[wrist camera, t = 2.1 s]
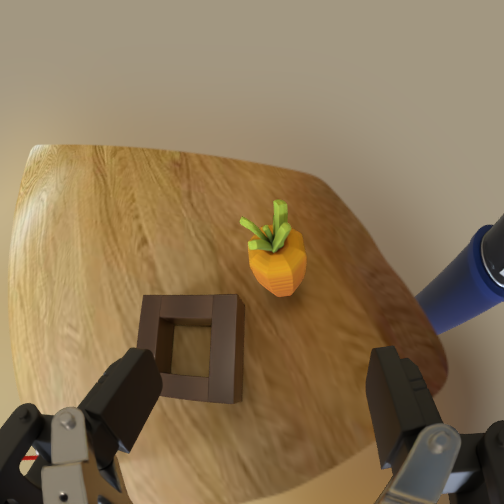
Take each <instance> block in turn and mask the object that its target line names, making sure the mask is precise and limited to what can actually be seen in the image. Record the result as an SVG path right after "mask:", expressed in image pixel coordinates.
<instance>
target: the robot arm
mask: <svg viewBox="0 0 504 504" xmlns="http://www.w3.org/2000/svg"><path fill="white" fill-rule="evenodd" d="M480 258H481V262H482V265H483V268H484V270H485V272H486V274H487V276H488V277H489V278H490V280H491V281H492V282H493V283H494V284H495V285H496V286H498V287H500V288H502V289H504V214H503V215H502V216H501V217H500V219H499V220H498V221H497V222H496V223H495V224H494V226H493V227H492V228H491V229H490V230H489V231H488V232H487V233H486V234H485V235H484V236H483V238H482V239H481V242H480ZM162 388H163V380H162V377H161V374H160V372H159V369H158V367H157V364H156V361H155V359H154V356H153V354H152V352H151V351H150V350H149V349H141V348H130V349H129V350H128V351H127V352H126V354H125V355H124V356H123V358H120V359H119V360H117V361H116V362H114V363H113V364H111V365H110V366H109V367H108V369H107V370H106V371H105V373H104V375H103V376H101V378H100V379H99V380H98V383H96V384H95V385H94V387H93V388H92V389H91V390H90V392H89V393H88V394H87V396H86V397H85V398H84V400H83V401H82V402H81V403H80V405H79V406H78V407H77V408H76V407H67V408H64V409H61V410H60V411H58V412H57V413H56V414H55V415H43V414H41V413H40V411H39V410H38V409H37V407H36V406H35V405H34V404H31V403H26V404H22V405H20V406H19V407H18V408H17V409H16V410H15V411H14V412H13V413H12V414H11V416H10V417H9V418H8V420H7V421H6V422H5V423H4V425H3V426H2V427H1V429H0V504H133V503H132V501H131V500H130V498H129V496H128V493H127V490H126V487H125V484H124V480H123V477H122V473H121V470H120V466H119V462H118V459H117V457H116V455H115V454H116V452H117V451H118V450H119V451H122V452H125V453H130V451H131V449H132V447H133V445H134V443H135V441H136V440H137V438H138V436H139V434H140V432H141V430H142V428H143V426H144V424H145V422H146V421H147V419H148V417H149V415H150V413H151V411H152V409H153V407H154V405H155V404H156V402H157V400H158V398H159V396H160V394H161V392H162ZM366 396H367V400H368V405H369V409H370V414H371V418H372V423H373V428H374V433H375V438H376V443H377V448H378V454H379V459H380V465H381V469H386V468H392V473H393V476H392V478H391V479H390V481H389V482H388V484H387V485H386V487H385V489H384V490H383V492H382V493H381V494H380V496H379V497H378V499H377V500H376V502H375V503H374V504H437V502H438V500H439V498H440V496H441V494H443V493H444V494H445V493H448V495H449V500H450V504H504V421H503V420H502V421H497V422H495V423H493V424H492V425H491V426H490V427H489V428H488V430H487V431H486V433H476V434H459V433H458V431H457V430H456V429H455V428H453V427H452V426H450V425H447V424H444V423H443V421H442V419H441V417H440V415H439V412H438V410H437V408H436V405H435V403H434V401H433V398H432V396H431V394H430V392H429V389H428V388H427V385H426V383H425V381H424V379H423V376H422V374H421V372H420V370H419V368H418V366H417V365H415V364H414V363H413V362H412V361H411V360H410V359H409V358H404V359H400V357H399V355H398V353H397V351H396V349H395V347H394V346H387V347H380V348H373V349H372V351H371V356H370V362H369V367H368V373H367V378H366ZM31 446H33V448H34V449H35V450H36V451H37V452H38V453H39V455H38V457H37V458H36V460H35V462H34V463H33V465H32V466H31V468H30V470H29V471H28V473H27V474H26V475H25V476H23V475H22V474H21V472H20V469H19V465H20V462H21V461H22V459H23V458H24V456H25V455H26V453H27V452H28V450H29V449H30V447H31Z"/></svg>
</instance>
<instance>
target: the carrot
mask: <svg viewBox="0 0 504 504" xmlns="http://www.w3.org/2000/svg"><path fill="white" fill-rule="evenodd" d="M287 216H288V213H287V204H286V202H285V201H283V200H278V199H277V200H275V201H274V216H273V225H264V226H262V227H261V228H260V229H259V228H258V227H257V226H256V225H255V224H254V223H253V222H251V221H250V220H248V219H247V218H245V217H243V216H242V217H241V219H240V224H242V225H243V226H245V227H246V228H248V229H250V230H251V231H252V232H253V233H255V235H254V236H253V237H252V238H251V239H250V240H249V241H248V252H249V264H250V268H251V270H252V272H253V274H254V275H255V277H256V279H257V280H258V282H259V283H260V284H261V285H262V286H263V287H265V288H266V289H267V290H269V291H270V292H272V293H273V294H274V295H276V296H277V297H282V296H289V295H292V294H293V292H294V291H295V290H296V289H297V287H298V286H299V285H300V283H301V282H302V280H303V278H304V276H305V271H306V261H307V257H306V251H305V246H304V241H303V236H302V234H301V233H299V232H298V231H296V230H294V229H293V228H291V226H290V224H288V223H287Z"/></svg>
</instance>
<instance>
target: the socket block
mask: <svg viewBox="0 0 504 504" xmlns="http://www.w3.org/2000/svg"><path fill="white" fill-rule="evenodd" d="M244 317H245V305H244V303H243V302H242V300H241V299H240V297H239V296H238V295H237V294H224V295H143V301H142V308H141V315H140V323H139V331H138V340H137V348H141V349H149V350H150V351H151V352H152V354H153V356H154V359H155V361H156V364H157V367H158V369H159V372H160V374H161V377H162V380H163V388H162V392H161V394H160V396H164V397H171V398H178V399H185V400H193V401H203V402H213V403H226V404H235V403H238V402H241V401H242V387H243V351H244ZM174 325H191V326H212V329H211V347H210V367H209V377H197V376H186V375H177V374H170V373H171V358H172V345H173V333H174Z"/></svg>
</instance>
